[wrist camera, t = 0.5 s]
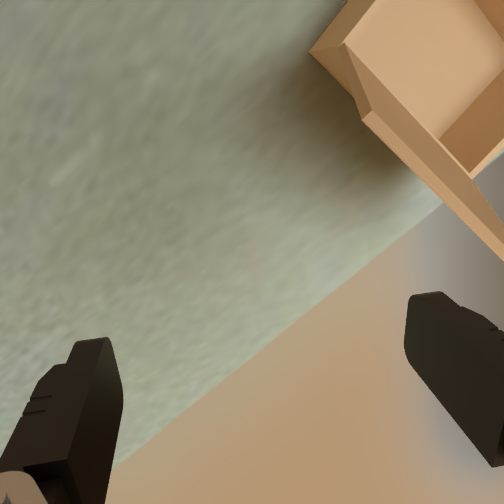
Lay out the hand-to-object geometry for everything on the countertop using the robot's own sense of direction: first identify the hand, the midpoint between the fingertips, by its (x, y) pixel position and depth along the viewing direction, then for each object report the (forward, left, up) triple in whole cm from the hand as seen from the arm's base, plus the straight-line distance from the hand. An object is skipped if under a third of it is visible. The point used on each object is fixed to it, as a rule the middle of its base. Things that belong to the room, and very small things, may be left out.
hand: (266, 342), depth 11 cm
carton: (-19, +9, -30) cm, 36 cm away
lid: (-10, +9, -15) cm, 20 cm away
